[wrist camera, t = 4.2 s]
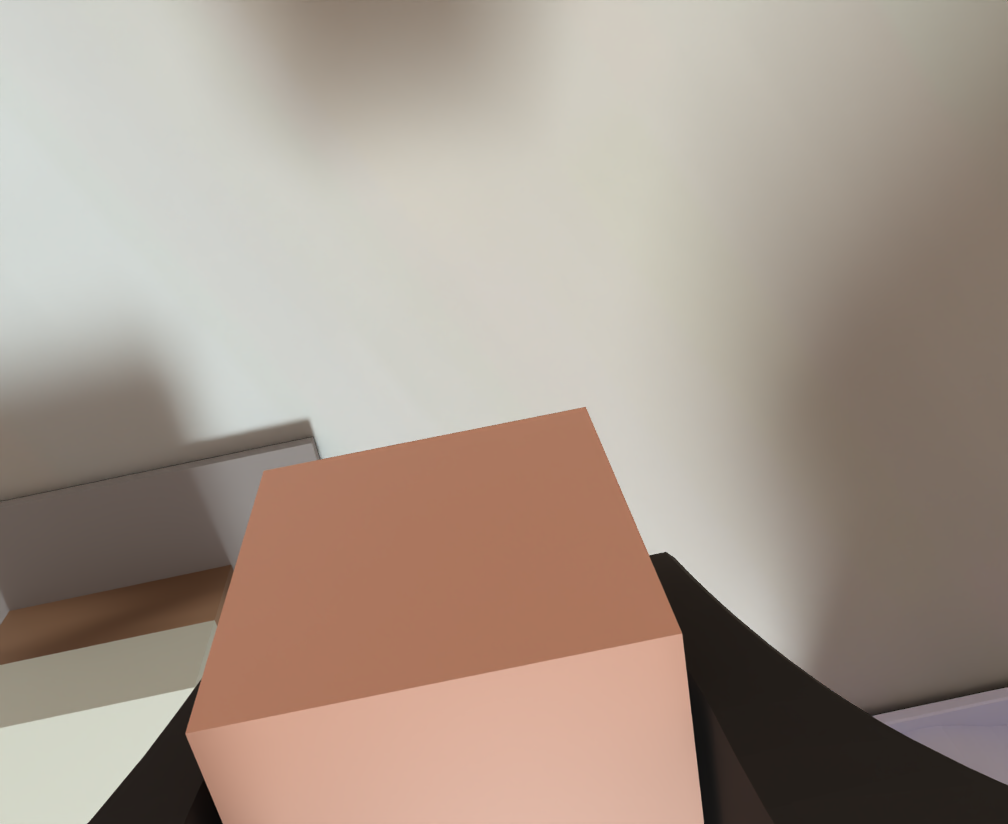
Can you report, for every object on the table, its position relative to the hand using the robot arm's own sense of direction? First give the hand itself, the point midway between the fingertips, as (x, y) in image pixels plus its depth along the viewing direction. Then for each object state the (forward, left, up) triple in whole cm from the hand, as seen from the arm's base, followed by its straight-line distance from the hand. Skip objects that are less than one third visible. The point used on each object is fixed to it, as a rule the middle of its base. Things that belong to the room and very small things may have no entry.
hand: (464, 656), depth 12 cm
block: (0, 0, -2) cm, 2 cm away
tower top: (+8, +5, -6) cm, 11 cm away
